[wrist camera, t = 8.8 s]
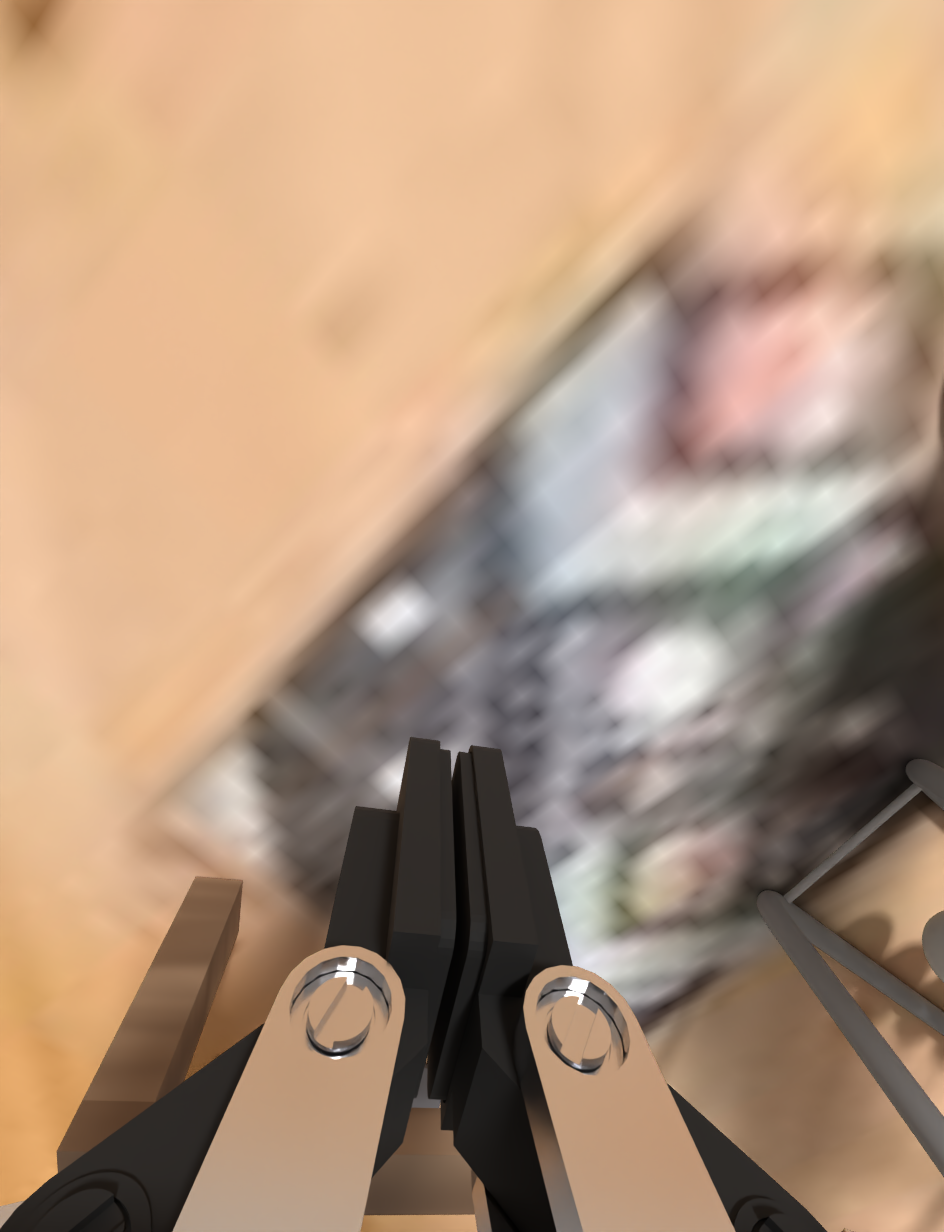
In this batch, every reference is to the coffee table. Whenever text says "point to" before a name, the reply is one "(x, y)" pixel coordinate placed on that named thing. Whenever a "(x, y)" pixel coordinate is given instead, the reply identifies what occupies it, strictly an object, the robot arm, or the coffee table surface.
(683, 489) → the coffee table surface
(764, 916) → the newton's cradle
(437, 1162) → the bridge
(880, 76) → the coffee table surface
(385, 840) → the robot arm
